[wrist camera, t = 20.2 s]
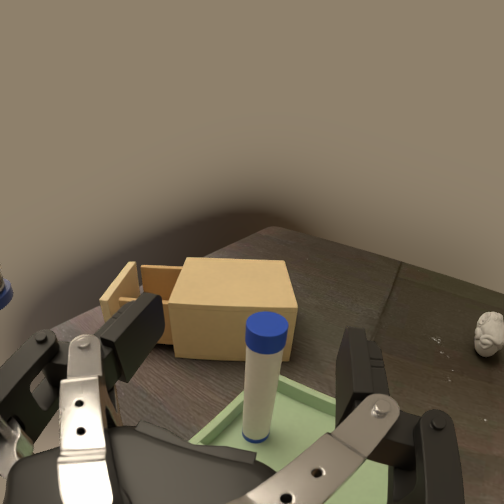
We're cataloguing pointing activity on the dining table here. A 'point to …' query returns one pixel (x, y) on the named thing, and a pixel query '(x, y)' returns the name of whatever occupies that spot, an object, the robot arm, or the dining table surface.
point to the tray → (296, 438)
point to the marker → (262, 372)
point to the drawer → (128, 289)
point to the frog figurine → (489, 334)
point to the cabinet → (227, 305)
